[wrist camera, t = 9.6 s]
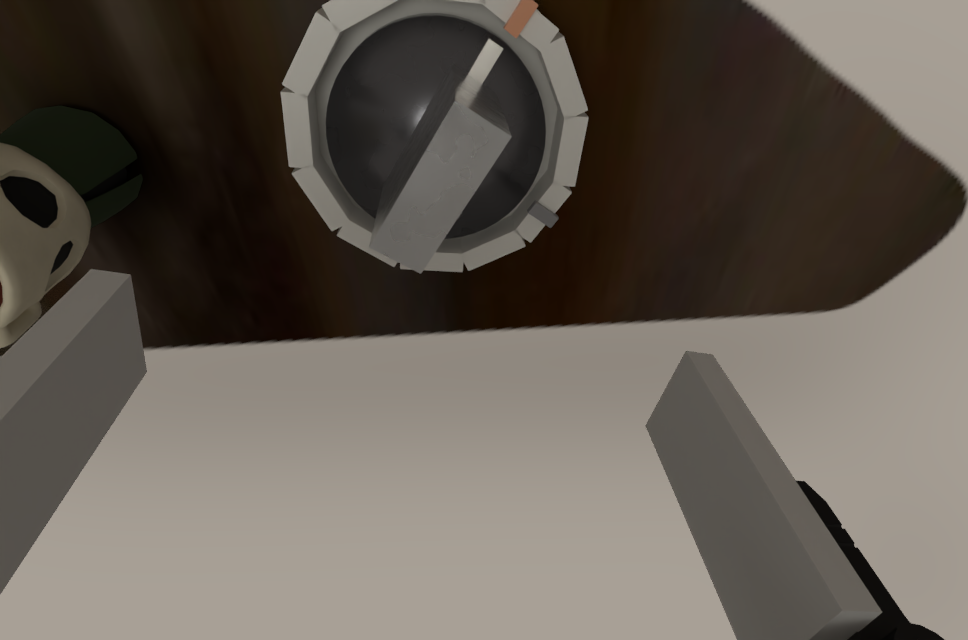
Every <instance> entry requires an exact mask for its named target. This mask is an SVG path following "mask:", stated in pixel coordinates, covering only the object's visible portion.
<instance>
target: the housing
mask: <svg viewBox="0 0 968 640" xmlns="http://www.w3.org/2000/svg"><path fill="white" fill-rule="evenodd" d="M538 6H539V5H538V4H537V3H536V2H534V1H533V0H330V1H329V2H327V3H325V4H324V5H322V7H323V8H321V9H320V10H318V11H316V13H315V15H314V17H313V19H312V22H311V24H310V26H309V28H308V30H307V32H306V34H305V36H304V38H303V41H302V43H301V45H300V47H299V49H298V51H297V53H296V55H295V57H294V59H293V62H292V64H291V66H290V68H289V70H288V72H287V74H286V76H285V78H284V81H283V83H282V85H284V86H285V88H284V89H283V90H282V91H281V100H282V109H283V118H284V127H285V136H286V145H287V154H288V163H289V167H295V169H294V170H293V172H292V175H293V176H294V178H295V179H296V181H297V182H298V184H299V185H300V187H301V188H302V189H303V191H304V192H305V194H306V195H307V197H308V198H309V200H310V201H311V202H312V204H313V205H314V207H315V208H316V210H317V211H318V212H319V214H320V215H321V217H322V218H323V220H324V221H325V223H326V224H327V225H328V227H329V228H330V230H331V231H333V230H336V229H338V228H339V230H338V233H337V236H338V237H340V238H342V239H343V240H345V241H347V242H349V243H351V244H352V245H354V246H356V247H358V248H360V249H362V250H363V251H365V252H367V253H369V254H371V255H373V256H374V257H376V258H378V259H380V260H382V261H383V262H385V263H387V264H389V265H391V266H393V267H395V265H396V264H397V262H396V261H395V260H393V259H391V258H389V257H387V256H385V255H383V254H381V253H379V252H377V251H375V250H373V249H371V248H369V245H370V240H371V236H372V232H373V227H374V223H375V218H373V217H372V216H371V215H369V214H368V213H367V212H366V211H364V210H363V209H362V208H361V207H360V206H359V205H358V204H357V203H356V202H355V200H354V199H353V198H352V197H351V195H350V194H349V193H348V192H347V190H346V189H345V187H344V186H343V184H342V182H341V181H340V179H339V177H338V175H337V173H336V170H335V168H334V166H333V163H332V160H331V157H330V154H329V150H328V144H327V138H326V112H327V105H328V100H329V96H330V92H331V89H332V87H333V84H334V82H335V79H336V77H337V75H338V73H339V72H340V70H341V68H342V66H343V64H344V63H345V62H346V60H347V59H348V58H349V56H350V55H351V54H352V53H353V51H354V50H355V49H356V47H357V46H358V45H359V44H360V43H361V42H362V41H363V40H364V39H365V38H366V37H368V36H369V35H370V34H372V33H373V32H374V31H376V30H377V29H379V28H380V27H382V26H384V25H386V24H388V23H390V22H392V21H394V20H397V19H400V18H403V17H406V16H410V15H416V14H422V13H442V14H450V15H455V16H459V17H462V18H466V19H469V20H471V21H474V22H476V23H478V24H480V25H483V26H484V27H486V28H487V29H489V30H491V31H492V32H494V33H495V34H497V35H498V36H499V37H500V38H501V39H503V40H504V41H505V42H506V43H507V44H508V45H509V46H510V47H511V48H512V49H513V50H514V51H515V52H516V54H517V55H518V56H519V58H520V59H521V61H522V62H523V63H524V65H525V66H526V68H527V69H528V71H529V73H530V74H531V76H532V78H533V80H534V82H535V84H536V86H537V89H538V92H539V95H540V97H541V100H542V105H543V109H544V114H545V125H546V138H545V148H544V154H543V159H542V162H541V165H540V168H539V171H538V174H537V176H536V178H535V180H534V182H533V184H532V186H531V187H530V189H529V191H528V192H527V194H526V195H525V196H524V198H523V199H522V200H521V201H520V203H519V204H518V205H517V206H516V207H515V208H514V209H513V210H512V211H511V212H510V213H509V214H508V215H506V216H505V217H504V218H502V219H501V220H500V221H498V222H497V223H495V224H493V225H491V226H490V227H488V228H486V229H484V230H481V231H479V232H476V233H474V234H470V235H467V236H463V237H457V238H451V239H444V240H443V241H442V243H441V244H440V246H439V247H438V249H437V251H436V252H435V254H434V255H433V257H432V258H431V260H430V261H429V263H428V264H427V266H426V267H425V269H424V270H430V271H449V272H463V262H464V264H465V266H466V267H467V269H468V271H470V270H472V269H475V268H477V267H479V266H482V265H484V264H486V263H489V262H491V261H493V260H495V259H498V258H500V257H502V256H505V255H507V254H509V253H512V252H514V251H516V250H519V249H521V248H523V247H526V246H525V242H524V239H526V240H527V241H529V242H530V243H531V242H532V241H533V239H534V238H535V237H536V236H537V234H538V233H539V232H540V231H541V230H542V228H543V227H544V226H545V225H547V226H548V227H550V228H551V227H552V226H553V225H554V224H555V222H556V221H557V220H558V219H559V218H558V215H556V214H555V213H556V211H557V210H558V209H559V208H560V207H561V205H562V204H563V203H564V202H565V200H566V199H567V198H568V197H569V196H570V194H571V193H572V192H571V190H570V188H569V186H572V187H575V183H576V178H577V173H578V168H579V163H580V158H581V153H582V148H583V143H584V138H585V133H586V128H587V123H588V118H589V117H588V116H587V115H586V113H585V111H588V108H587V105H586V102H585V99H584V96H583V93H582V90H581V87H580V84H579V81H578V78H577V75H576V72H575V68H574V65H573V62H572V59H571V56H570V53H569V50H568V47H567V44H566V41H565V38H564V36H563V35H562V34H561V33H559V32H558V31H559V29H558V28H557V27H556V26H555V25H553V24H552V23H551V22H550V21H549V20H548V19H546V18H545V17H544V16H543V15H542V14H541V13H540V12H539V11H538V10H537V7H538ZM400 269H410V268H408V267H406V266H404V265H402V264H400ZM410 270H412V269H410Z"/></svg>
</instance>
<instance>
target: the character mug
mask: <svg viewBox="0 0 968 640" xmlns="http://www.w3.org/2000/svg"><path fill="white" fill-rule="evenodd" d="M136 159H137V155H136V152H135V150H134V149H133V148H132V147H131V145H130V144H129V143H128V142H127V140H126V139H125V138H124V136H123V135H122V134H121V133H120V131H119V130H117V129H116V128H114V127H113V126H112V125H110V124H109V123H107V122H106V121H104V120H103V119H101V118H100V117H98V116H97V115H95V114H94V113H92V112H88V111H83V110H79V109H74V108H70V107H65V106H61V105H60V106H53V107H47V108H40V109H34V110H33V111H31V112H30V113H28V114H27V115H25V116H24V117H22V118H21V119H19V120H18V121H16V122H15V123H14V124H13V125H12V126H10V127H9V128H8V129H7V130H5V131H4V132H3V133H2V134H0V348H3V347H5V346H8V345H10V344H12V343H14V342H15V341H16V340H17V339H18V338H19V337H20V336H21V335H22V334H23V333H24V332H25V331H26V330H28V329H29V328H30V327H31V326H32V325H33V324H34V323H35V322H36V321H37V320H38V319H39V317H40V315H41V313H42V310H41V304H40V302H39V301H40V300H41V299H42V297H43V296H44V295H45V294H46V293H47V292H48V291H49V290H50V289H51V288H52V287H53V286H55V285H56V284H57V283H58V282H60V281H61V280H62V279H64V278H65V277H66V276H68V275H69V274H70V273H71V271H72V270H73V269H74V268H75V266H76V265H77V264H78V263H79V262H80V260H81V258H82V256H83V254H84V252H85V249H86V247H87V245H88V243H89V236H90V229H91V228H92V227H94V226H96V225H98V224H100V223H102V222H104V221H105V220H107V219H108V218H110V217H111V216H113V215H115V214H116V213H118V212H119V211H121V210H122V209H123V208H125V207H126V206H127V205H128V204H130V203H131V202H132V201H133V200H135V199H136V198H137V197H138V194H139V191H140V187H141V184H142V181H143V177H142V174H140V175H138V176H136V177H135V178H133V179H131V180H129V181H128V182H126V181H127V170H126V168H125V167H126V166H127V165H129V164H130V163H132V162H133V161H135V160H136Z"/></svg>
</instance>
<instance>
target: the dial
mask: <svg viewBox="0 0 968 640" xmlns="http://www.w3.org/2000/svg"><path fill="white" fill-rule="evenodd" d="M326 138H327V144H328V150H329V154H330V157H331V160H332V163H333V166H334V168H335V170H336V173H337V175H338V177H339V179H340V181H341V182H342V184H343V186H344V187H345V189H346V190H347V192H348V193H349V194H350V195H351V197H352V198H353V199H354V200H355V202H356V203H357V204H358V205H359V206H360V207H361V208H362V209H363V210H364V211H366V212H367V213H368V214H369V215H371V216H372V217H373V218H375V223H374V227H373V232H372V236H371V240H370V245H369V248H371V249H373V250H375V251H377V252H379V253H381V254H383V255H385V256H387V257H389V258H391V259H393V260H395V261H396V262H398V263H400V264H402V265H404V266H406V267H408V268H410V269H412V270H414V271H416V272H418V273H420V274H421V273H422V272H423V270H424V269H425V267H426V266H427V264H428V263H429V261H430V260H431V258H432V257H433V255H434V254H435V252H436V251H437V249H438V247H439V246H440V244H441V243H442V241H443V240H444V239H451V238H457V237H463V236H467V235H470V234H474V233H476V232H479V231H481V230H484V229H486V228H488V227H490V226H491V225H493V224H495V223H497V222H498V221H500V220H501V219H502V218H504V217H505V216H506V215H508V214H509V213H510V212H511V211H512V210H513V209H514V208H515V207H516V206H517V205H518V204H519V203H520V201H521V200H522V199H523V198H524V196H525V195H526V194H527V192H528V191H529V189H530V187H531V186H532V184H533V182H534V180H535V178H536V176H537V174H538V171H539V168H540V165H541V162H542V159H543V154H544V148H545V138H546V125H545V114H544V109H543V105H542V100H541V97H540V95H539V92H538V89H537V86H536V84H535V82H534V80H533V78H532V76H531V74H530V73H529V71H528V69H527V68H526V66H525V65H524V63H523V62H522V61H521V59H520V58H519V56H518V55H517V54H516V52H515V51H514V50H513V49H512V48H511V47H510V46H509V45H508V44H507V43H506V42H505V41H504V40H503V39H501V38H500V37H499V36H498V35H497V34H495V33H494V32H492V31H491V30H489V29H487V28H486V27H484V26H483V25H480V24H478V23H476V22H474V21H471V20H469V19H466V18H462V17H459V16H455V15H450V14H442V13H422V14H416V15H410V16H406V17H403V18H400V19H397V20H394V21H392V22H390V23H388V24H386V25H384V26H382V27H380V28H379V29H377V30H376V31H374V32H373V33H372V34H370V35H369V36H368V37H366V38H365V39H364V40H363V41H362V42H361V43H360V44H359V45H358V46H357V47H356V49H355V50H354V51H353V53H352V54H351V55H350V56H349V58H348V59H347V60H346V62H345V63H344V64H343V66H342V68H341V70H340V72H339V73H338V75H337V77H336V79H335V82H334V84H333V87H332V89H331V92H330V96H329V100H328V105H327V112H326Z"/></svg>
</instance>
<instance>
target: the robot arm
mask: <svg viewBox="0 0 968 640" xmlns="http://www.w3.org/2000/svg"><path fill="white" fill-rule="evenodd" d="M146 372H147V370H146V364H145V358H144V352H143V346H142V340H141V334H140V328H139V322H138V316H137V310H136V304H135V298H134V292H133V285H132V279H131V275H130V274H123V273H116V272H109V271H101V270H94V269H91V270H90V271H89V272H88V273H87V274H86V275H85V276H84V277H83V278H82V279H80V280H79V281H78V282H77V283H76V284H75V285H74V286H73V287H72V288H71V289H70V290H69V291H68V292H67V293H66V294H65V295H64V296H63V297H62V298H61V299H60V300H59V301H58V302H57V303H56V304H55V305H54V306H53V307H52V308H51V309H50V310H49V311H48V312H47V313H46V314H45V315H44V316H43V317H42V318H41V319H40V320H39V321H37V322H36V323H35V324H34V325H33V326H32V327H31V328H30V329H29V330H28V331H27V332H26V333H25V334H24V335H23V336H22V337H21V338H20V339H19V340H18V341H17V342H16V343H15V344H14V345H13V346H12V347H11V348H10V349H9V350H8V351H7V352H6V353H5V354H4V355H3V356H2V357H1V358H0V594H1V593H2V591H3V589H4V588H5V586H6V585H7V583H8V582H9V580H10V579H11V577H12V576H13V574H14V573H15V571H16V570H17V568H18V567H19V565H20V564H21V562H22V561H23V559H24V557H25V556H26V555H27V553H28V552H29V550H30V548H31V547H32V545H33V544H34V542H35V541H36V539H37V538H38V536H39V535H40V533H41V532H42V530H43V529H44V527H45V526H46V524H47V523H48V521H49V520H50V518H51V517H52V515H53V513H54V512H55V510H56V509H57V507H58V506H59V504H60V503H61V501H62V500H63V498H64V497H65V495H66V494H67V492H68V491H69V489H70V488H71V486H72V485H73V483H74V482H75V480H76V479H77V477H78V475H79V474H80V472H81V471H82V469H83V468H84V466H85V465H86V463H87V462H88V460H89V459H90V457H91V456H92V454H93V453H94V451H95V450H96V448H97V447H98V445H99V444H100V442H101V440H102V439H103V437H104V436H105V434H106V433H107V431H108V430H109V428H110V426H111V425H112V424H113V422H114V421H115V419H116V418H117V416H118V415H119V413H120V412H121V410H122V408H123V407H124V406H125V404H126V402H127V401H128V399H129V398H130V396H131V395H132V393H133V392H134V390H135V389H136V387H137V386H138V384H139V383H140V381H141V380H142V378H143V377H144V375H145V374H146ZM646 428H647V430H648V432H649V435H650V437H651V439H652V442H653V444H654V446H655V449H656V451H657V453H658V456H659V458H660V460H661V463H662V465H663V467H664V470H665V472H666V475H667V477H668V479H669V482H670V484H671V486H672V489H673V491H674V493H675V496H676V498H677V500H678V503H679V505H680V507H681V510H682V512H683V514H684V517H685V519H686V521H687V524H688V526H689V528H690V531H691V533H692V535H693V538H694V540H695V542H696V545H697V547H698V549H699V552H700V554H701V556H702V559H703V561H704V563H705V566H706V567H707V570H708V572H709V575H710V577H711V580H712V582H713V584H714V587H715V589H716V591H717V594H718V596H719V598H720V601H721V603H722V605H723V608H724V610H725V612H726V615H727V617H728V619H729V622H730V624H731V626H732V628H733V631H734V633H735V636H736V638H737V640H944V639H943V638H942V637H940V636H939V635H938V634H936V633H935V632H933V631H931V630H929V629H927V628H925V627H923V626H921V625H916V624H911V623H910V622H909V621H908V619H907V618H906V617H905V616H904V614H903V613H902V611H901V610H900V609H899V607H898V606H897V604H896V603H895V601H894V600H893V599H892V597H891V595H890V594H889V592H888V591H887V590H886V588H885V587H884V585H883V584H882V582H881V581H880V579H879V578H878V577H877V575H876V574H875V572H874V571H873V569H872V568H871V567H870V565H869V563H868V562H867V560H866V559H865V558H864V556H863V555H862V553H861V552H860V550H859V549H858V548H855V547H854V542H853V540H852V539H851V537H850V536H849V534H848V533H847V532H846V530H845V529H842V527H841V525H842V524H841V523H840V521H839V520H838V518H837V517H836V515H835V514H834V513H833V511H832V510H831V508H830V507H829V505H828V504H827V502H826V501H825V500H824V499H823V498H821V497H820V496H819V495H818V494H817V493H816V492H815V491H814V490H813V489H812V488H811V487H810V486H809V485H808V484H807V483H806V482H804V481H796V480H795V479H794V477H793V476H792V474H791V473H790V471H789V470H788V468H787V467H786V465H785V464H784V462H783V461H782V459H781V458H780V456H779V455H778V453H777V452H776V450H775V448H774V447H773V445H772V444H771V443H770V441H769V440H768V438H767V436H766V435H765V433H764V432H763V430H762V429H761V427H760V426H759V424H758V423H757V421H756V420H755V418H754V417H753V415H752V414H751V412H750V411H749V409H748V408H747V406H746V404H745V403H744V401H743V400H742V398H741V397H740V395H739V394H738V392H737V391H736V389H735V388H734V386H733V385H732V383H731V382H730V380H729V379H728V377H727V376H726V374H725V373H724V371H723V370H722V368H721V367H720V365H719V364H718V362H717V361H716V359H715V358H714V356H713V355H711V354H704V353H697V352H689V351H686V352H685V354H684V356H683V357H682V359H681V361H680V363H679V365H678V367H677V369H676V370H675V372H674V374H673V376H672V378H671V380H670V381H669V383H668V385H667V387H666V389H665V391H664V393H663V394H662V396H661V398H660V400H659V402H658V404H657V405H656V407H655V409H654V411H653V413H652V415H651V417H650V418H649V420H648V422H647V424H646Z"/></svg>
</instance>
